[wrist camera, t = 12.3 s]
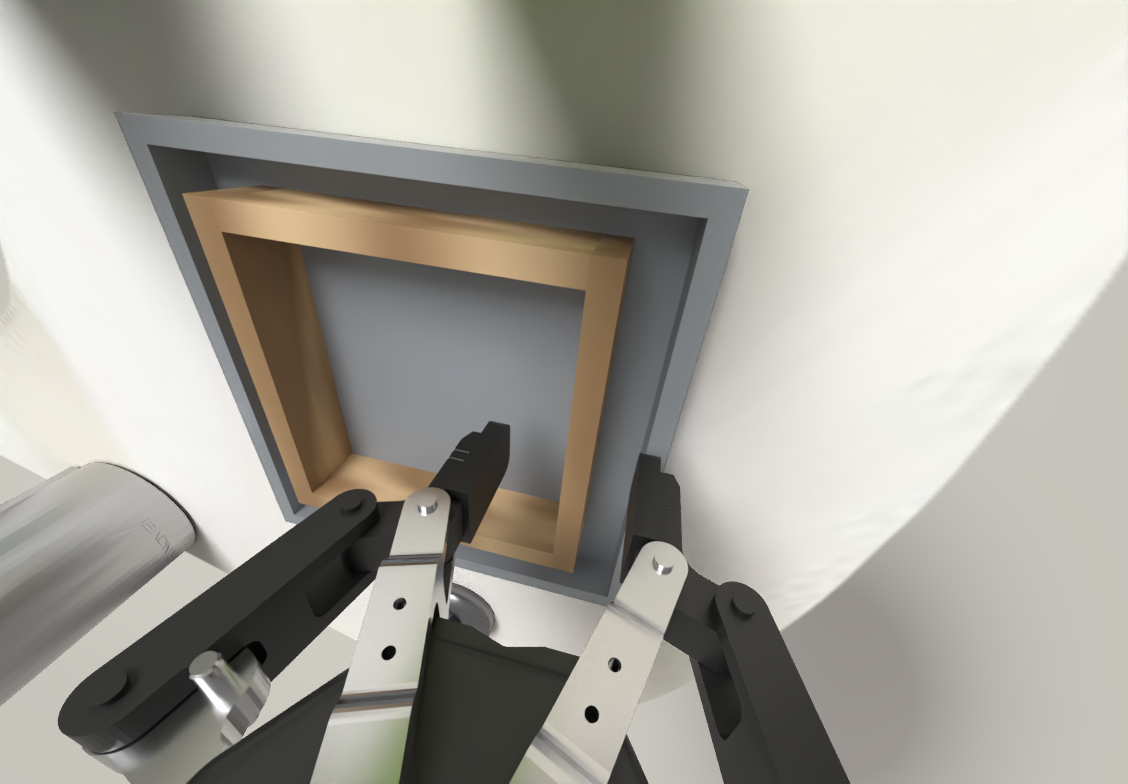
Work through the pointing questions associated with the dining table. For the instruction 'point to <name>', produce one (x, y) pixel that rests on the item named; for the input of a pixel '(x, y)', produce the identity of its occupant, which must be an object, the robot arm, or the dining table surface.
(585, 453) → the wooden frame
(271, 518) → the dining table surface
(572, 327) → the tray
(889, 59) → the dining table surface
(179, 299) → the dining table surface
